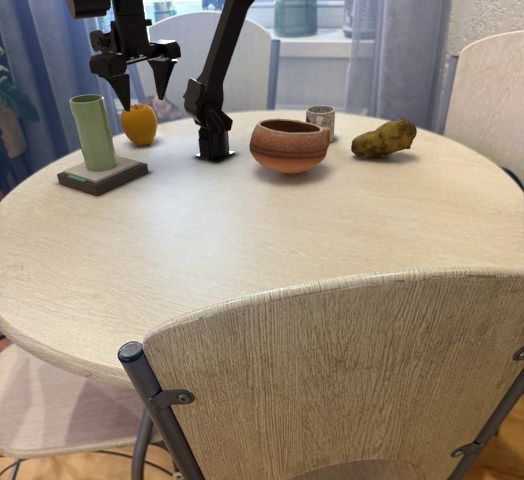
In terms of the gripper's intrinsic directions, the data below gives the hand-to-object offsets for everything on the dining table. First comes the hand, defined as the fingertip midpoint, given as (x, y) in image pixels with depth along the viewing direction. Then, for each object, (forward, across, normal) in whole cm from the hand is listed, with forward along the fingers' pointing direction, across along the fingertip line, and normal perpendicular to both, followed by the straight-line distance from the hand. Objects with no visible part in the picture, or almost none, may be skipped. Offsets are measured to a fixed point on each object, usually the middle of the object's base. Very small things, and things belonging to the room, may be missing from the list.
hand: (144, 105), depth 106 cm
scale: (+13, +9, -6) cm, 17 cm away
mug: (+13, -33, +21) cm, 41 cm away
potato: (+13, -31, +38) cm, 51 cm away
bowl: (+13, -14, +25) cm, 32 cm away
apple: (+13, -11, -15) cm, 23 cm away
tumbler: (+10, +9, -6) cm, 15 cm away
